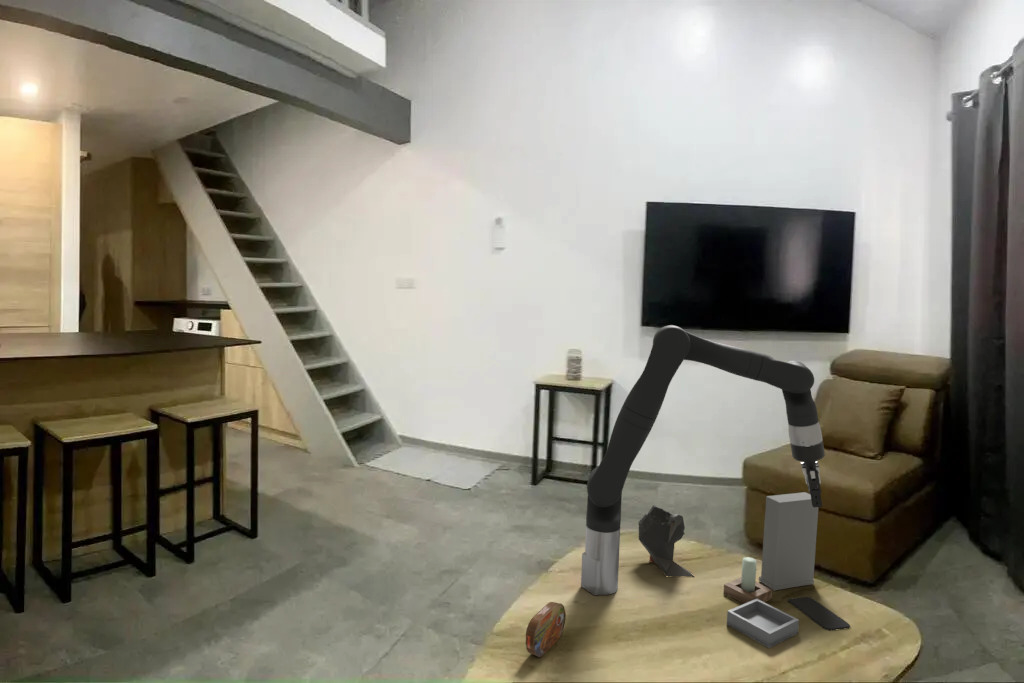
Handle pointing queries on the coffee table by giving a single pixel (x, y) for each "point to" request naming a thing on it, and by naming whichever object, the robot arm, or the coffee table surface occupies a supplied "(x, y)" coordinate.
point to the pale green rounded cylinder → (748, 574)
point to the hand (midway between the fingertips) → (815, 499)
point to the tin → (545, 628)
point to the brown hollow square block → (743, 596)
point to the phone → (818, 613)
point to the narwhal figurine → (662, 539)
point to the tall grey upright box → (789, 541)
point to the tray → (763, 622)
